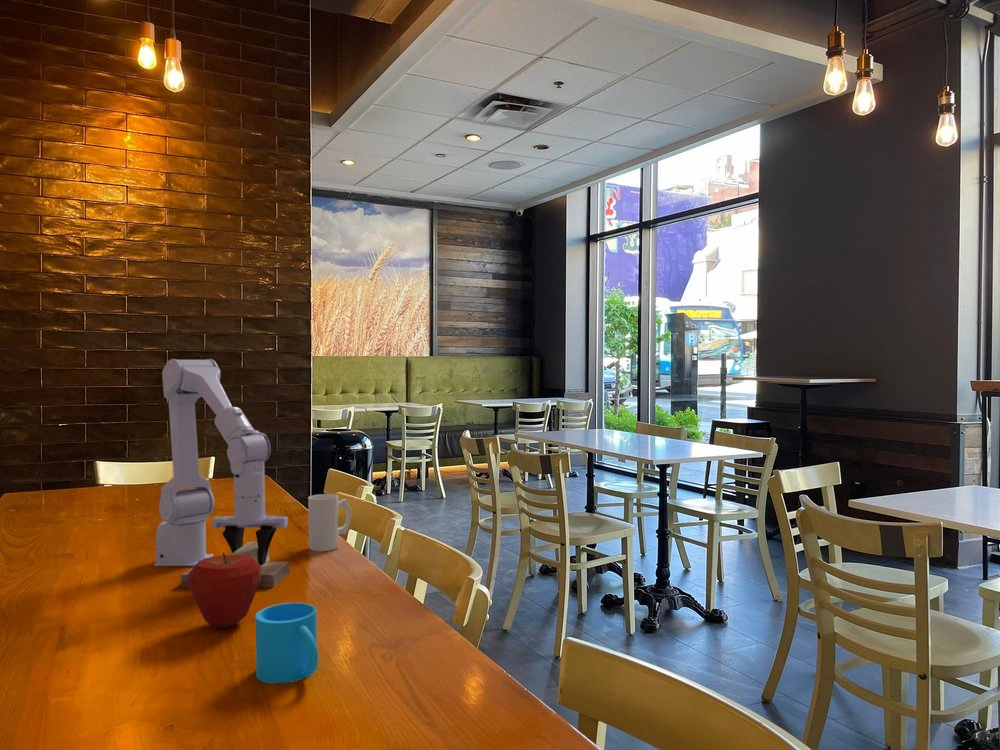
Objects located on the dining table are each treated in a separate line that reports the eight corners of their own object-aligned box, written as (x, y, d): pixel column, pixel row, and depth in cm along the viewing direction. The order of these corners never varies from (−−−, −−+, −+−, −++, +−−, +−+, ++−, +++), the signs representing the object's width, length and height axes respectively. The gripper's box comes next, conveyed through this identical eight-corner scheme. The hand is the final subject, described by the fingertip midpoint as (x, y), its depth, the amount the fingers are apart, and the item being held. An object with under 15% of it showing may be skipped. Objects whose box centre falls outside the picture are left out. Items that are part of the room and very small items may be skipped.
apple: (217, 643, 107) (216, 565, 107) (175, 630, 113) (173, 555, 113) (275, 620, 116) (274, 548, 116) (233, 609, 122) (232, 540, 122)
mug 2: (312, 553, 158) (312, 500, 158) (305, 546, 164) (304, 495, 164) (356, 547, 163) (355, 496, 163) (347, 541, 169) (346, 491, 169)
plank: (181, 587, 135) (180, 574, 135) (202, 573, 144) (202, 561, 144) (273, 587, 134) (273, 574, 134) (289, 573, 143) (289, 561, 143)
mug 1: (245, 670, 98) (245, 612, 98) (299, 653, 103) (298, 598, 103) (287, 699, 89) (286, 636, 89) (343, 679, 95) (342, 619, 95)
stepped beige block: (225, 589, 132) (225, 557, 132) (250, 570, 144) (249, 541, 144) (246, 589, 132) (246, 557, 132) (269, 570, 144) (269, 541, 144)
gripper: (204, 499, 135) (205, 569, 135) (278, 499, 134) (279, 569, 134) (219, 492, 142) (220, 559, 142) (290, 492, 141) (291, 559, 142)
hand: (250, 563), depth 139 cm, fingers closed on stepped beige block, 4 cm apart
